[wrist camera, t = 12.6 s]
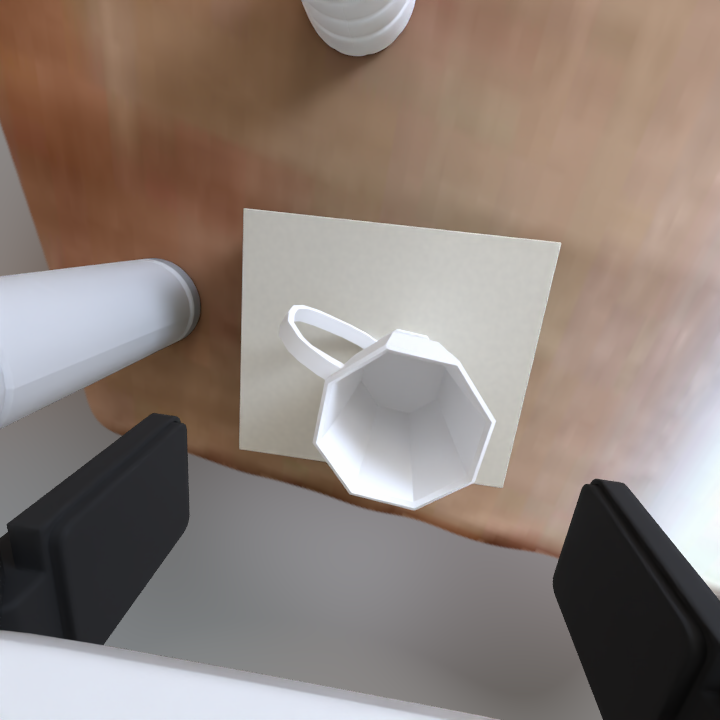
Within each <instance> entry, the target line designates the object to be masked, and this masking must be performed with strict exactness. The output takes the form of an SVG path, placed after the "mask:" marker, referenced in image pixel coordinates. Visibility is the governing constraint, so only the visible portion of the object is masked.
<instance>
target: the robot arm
mask: <svg viewBox="0 0 720 720" xmlns="http://www.w3.org/2000/svg"><path fill="white" fill-rule="evenodd" d="M187 456H188V454H187V428H186V425H185V424H183V423H181V421H180V419H179V418H178V417H177V416H170V415H164V414H157V413H153V414H151V415H149V416H148V417H147V418H145V419H144V420H143V421H141V422H140V423H139V424H137V425H136V426H135V427H133V428H132V429H131V430H130V431H128V432H127V433H126V434H124V435H123V436H122V437H120V438H119V439H118V440H116V441H115V442H114V443H112V444H111V445H110V446H109V447H107V448H106V449H105V450H103V451H102V452H101V453H99V454H98V455H97V456H95V457H94V458H93V459H92V460H90V461H89V462H88V463H86V464H85V465H84V466H82V467H81V468H80V469H78V470H77V471H76V472H75V473H73V474H72V475H71V476H69V477H68V478H67V479H65V480H64V481H63V482H61V483H60V484H59V485H57V486H56V487H55V488H54V489H52V490H51V491H50V492H48V493H47V494H46V495H44V496H43V497H42V498H40V499H39V500H38V501H37V502H35V503H34V504H33V505H31V506H30V507H29V508H28V509H26V510H25V511H23V512H22V513H21V514H20V515H18V516H17V517H16V518H14V519H13V520H12V521H10V522H9V523H8V524H7V529H8V532H7V533H6V534H5V535H4V536H2V537H1V538H0V720H500V719H495V718H490V717H485V716H480V715H474V714H469V713H464V712H459V711H454V710H449V709H444V708H439V707H433V706H428V705H423V704H418V703H412V702H407V701H402V700H396V699H391V698H386V697H381V696H376V695H370V694H365V693H360V692H354V691H350V690H344V689H339V688H333V687H328V686H323V685H318V684H312V683H307V682H302V681H296V680H291V679H286V678H280V677H275V676H270V675H264V674H259V673H253V672H248V671H242V670H237V669H232V668H226V667H221V666H215V665H210V664H204V663H199V662H193V661H188V660H182V659H177V658H171V657H166V656H161V655H155V654H150V653H144V652H139V651H133V650H128V649H122V648H117V647H110V646H104V643H105V642H106V640H107V639H108V638H109V636H110V635H111V633H112V632H113V631H114V629H115V628H116V626H117V625H118V624H119V622H120V621H121V619H122V618H123V617H124V615H125V614H126V612H127V611H128V610H129V608H130V607H131V605H132V604H133V602H134V601H135V600H136V598H137V597H138V595H139V594H140V593H141V591H142V590H143V589H144V587H145V586H146V584H147V583H148V582H149V580H150V579H151V578H152V576H153V575H154V573H155V572H156V571H157V569H158V568H159V566H160V565H161V564H162V562H163V561H164V559H165V558H166V556H167V555H168V554H169V552H170V551H171V550H172V548H173V547H174V545H175V544H176V543H177V541H178V540H179V538H180V537H181V536H182V534H183V533H184V531H185V529H186V527H187V525H188V521H189V487H188V457H187ZM553 589H554V593H555V596H556V599H557V602H558V604H559V607H560V609H561V612H562V614H563V617H564V620H565V622H566V625H567V627H568V630H569V632H570V635H571V637H572V640H573V643H574V646H575V648H576V651H577V653H578V656H579V659H580V661H581V663H582V666H583V669H584V671H585V674H586V677H587V679H588V682H589V684H590V687H591V690H592V692H593V695H594V697H595V700H596V702H597V705H598V708H599V710H600V713H601V715H602V718H603V720H720V601H719V600H718V598H717V597H716V596H715V594H714V593H713V592H712V591H711V589H710V588H709V587H708V586H707V584H706V583H705V582H704V581H703V579H702V578H701V577H700V576H699V575H698V573H697V572H696V571H695V570H694V568H693V567H692V566H691V565H690V563H689V562H688V561H687V560H686V558H685V557H684V556H683V555H682V554H681V552H680V551H679V550H678V549H677V547H676V546H675V545H674V544H673V542H672V541H671V540H670V539H669V537H668V536H667V535H666V534H665V533H664V531H663V530H662V529H661V528H660V526H659V525H658V524H657V523H656V521H655V520H654V519H653V518H652V516H651V515H650V514H649V513H648V512H647V510H646V509H645V508H644V507H643V505H642V504H641V503H640V502H639V500H638V499H637V498H636V497H635V495H634V494H633V493H632V492H631V491H630V489H629V488H628V487H627V486H626V485H625V484H624V483H621V482H614V481H607V480H601V479H594V480H593V481H592V482H591V483H590V484H585V485H584V486H583V487H582V490H581V493H580V496H579V499H578V502H577V505H576V508H575V511H574V514H573V517H572V520H571V523H570V526H569V530H568V533H567V536H566V539H565V542H564V545H563V548H562V551H561V554H560V557H559V560H558V564H557V567H556V570H555V573H554V577H553Z"/></svg>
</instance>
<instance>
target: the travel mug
mask: <svg viewBox="0 0 720 720" xmlns="http://www.w3.org/2000/svg"><path fill="white" fill-rule="evenodd" d="M199 316H200V299H199V294H198V292H197V289H196V287H195V285H194V283H193V281H192V280H191V278H190V277H189V276H188V275H187V274H186V272H184V271H183V270H182V269H181V268H180V267H178V266H177V265H175V264H173V263H172V262H169V261H166V260H163V259H157V258H149V259H140V260H131V261H123V262H115V263H106V264H98V265H90V266H81V267H73V268H65V269H57V270H48V271H40V272H32V273H24V274H15V275H7V276H0V429H2V428H4V427H6V426H8V425H10V424H12V423H14V422H16V421H18V420H20V419H22V418H24V417H26V416H28V415H30V414H32V413H34V412H36V411H38V410H40V409H42V408H44V407H46V406H48V405H50V404H52V403H54V402H56V401H58V400H60V399H62V398H64V397H66V396H68V395H70V394H72V393H74V392H77V391H79V390H81V389H83V388H85V387H87V386H89V385H91V384H93V383H95V382H97V381H99V380H101V379H103V378H105V377H107V376H109V375H111V374H113V373H115V372H117V371H119V370H121V369H123V368H125V367H127V366H129V365H131V364H133V363H135V362H137V361H139V360H141V359H143V358H145V357H147V356H149V355H151V354H153V353H155V352H157V351H159V350H161V349H163V348H165V347H167V346H169V345H171V344H173V343H175V342H177V341H179V340H181V339H183V338H185V337H186V336H188V335H189V334H190V333H191V332H192V331H193V329H194V328H195V327H196V324H197V322H198V320H199Z"/></svg>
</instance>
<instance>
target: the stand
mask: <svg viewBox="0 0 720 720" xmlns="http://www.w3.org/2000/svg"><path fill="white" fill-rule="evenodd" d="M560 246H561V243H560V242H550V241H541V240H532V239H523V238H513V237H504V236H495V235H486V234H477V233H467V232H458V231H449V230H440V229H430V228H421V227H412V226H403V225H394V224H384V223H375V222H366V221H357V220H348V219H338V218H329V217H320V216H311V215H301V214H292V213H283V212H274V211H265V210H255V209H246V208H244V215H243V269H242V322H241V376H240V430H239V449H242V450H249V451H255V452H262V453H269V454H276V455H282V456H289V457H296V458H303V459H309V460H316V461H323V462H326V461H325V459H324V458H323V457H322V455H321V454H320V452H319V451H318V450H317V448H316V447H315V446H314V444H313V443H312V442H313V437H314V432H315V427H316V422H317V417H318V412H319V407H320V402H321V397H322V392H323V387H324V382H325V379H323V378H321V377H320V376H318V375H316V374H315V373H314V372H312V371H311V370H310V369H308V368H307V367H306V366H304V365H303V364H302V363H300V362H299V361H298V360H297V359H296V358H295V357H294V356H293V355H292V354H291V353H290V352H288V350H287V349H286V347H285V345H284V343H283V342H282V340H281V338H280V337H279V330H280V324H281V322H282V321H283V319H284V318H285V316H286V315H287V313H288V311H289V310H290V309H291V308H292V306H293V305H305V306H308V307H311V308H314V309H317V310H320V311H322V312H324V313H326V314H329V315H331V316H333V317H335V318H338V319H340V320H342V321H344V322H346V323H348V324H350V325H352V326H354V327H356V328H358V329H360V330H361V331H363V332H365V333H367V334H368V335H370V336H371V337H373V338H374V339H376V340H379V339H381V338H382V337H384V336H386V335H387V334H389V333H391V332H392V331H394V330H396V329H400V330H405V331H409V332H413V333H417V334H422V335H426V336H428V338H429V339H430V340H432V341H435V342H439V343H440V344H441V345H442V346H443V347H444V348H445V349H446V350H447V351H448V352H450V353H451V354H452V355H453V356H455V357H456V358H457V359H458V360H459V361H460V362H461V364H462V366H463V367H464V369H465V371H466V372H467V374H468V376H469V377H470V379H471V381H472V382H473V384H474V386H475V387H476V389H477V391H478V392H479V394H480V396H481V397H482V399H483V400H484V402H485V404H486V405H487V407H488V409H489V410H490V412H491V414H492V415H493V417H494V419H495V420H496V423H495V425H494V428H493V431H492V434H491V437H490V440H489V443H488V446H487V448H486V451H485V454H484V457H483V460H482V463H481V466H480V469H479V471H478V474H477V477H476V480H475V482H474V483H472V484H478V485H485V486H492V487H499V488H503V484H504V480H505V476H506V472H507V467H508V463H509V459H510V455H511V451H512V447H513V442H514V438H515V434H516V430H517V426H518V421H519V417H520V413H521V409H522V405H523V401H524V396H525V392H526V388H527V384H528V380H529V376H530V371H531V367H532V363H533V359H534V355H535V350H536V346H537V342H538V338H539V334H540V330H541V325H542V321H543V317H544V313H545V309H546V305H547V300H548V296H549V292H550V288H551V284H552V279H553V275H554V271H555V267H556V263H557V259H558V254H559V250H560ZM294 323H295V325H296V327H297V328H298V330H299V331H300V333H301V334H302V336H303V337H304V338H305V339H306V340H307V341H308V342H309V343H310V344H311V345H312V346H314V347H316V348H317V349H319V350H320V351H322V352H324V353H325V354H327V355H329V356H330V357H332V358H334V359H336V360H337V361H339V362H341V363H343V364H345V363H346V362H347V361H348V360H349V359H350V358H352V357H353V356H354V355H355V354H357V353H358V352H360V351H362V350H363V348H361V347H360V346H358V345H356V344H354V343H352V342H350V341H348V340H346V339H345V338H343V337H340V336H338V335H336V334H333V333H331V332H328V331H326V330H324V329H321V328H319V327H316V326H313V325H310V324H307V323H304V322H301V321H296V322H294Z"/></svg>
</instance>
